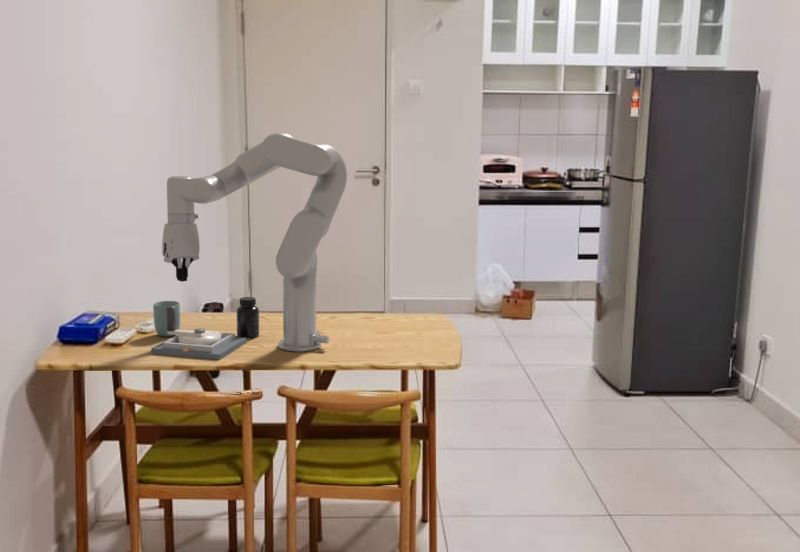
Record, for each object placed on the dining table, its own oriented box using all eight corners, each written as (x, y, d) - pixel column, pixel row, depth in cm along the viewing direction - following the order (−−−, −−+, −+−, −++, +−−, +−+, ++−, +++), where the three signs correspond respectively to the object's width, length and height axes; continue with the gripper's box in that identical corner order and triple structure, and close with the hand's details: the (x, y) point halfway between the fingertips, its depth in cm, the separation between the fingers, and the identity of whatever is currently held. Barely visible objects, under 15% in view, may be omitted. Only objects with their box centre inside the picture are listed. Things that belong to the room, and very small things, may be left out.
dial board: (246, 342, 234) (246, 333, 233) (219, 359, 217) (219, 349, 216) (182, 337, 238) (182, 327, 238) (151, 353, 221) (151, 343, 220)
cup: (184, 332, 244) (183, 301, 242) (175, 339, 236) (173, 307, 234) (160, 331, 245) (159, 300, 243) (150, 337, 237) (148, 305, 235)
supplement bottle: (232, 337, 240) (231, 299, 237) (246, 332, 246) (245, 295, 243) (250, 340, 237) (249, 301, 234) (263, 335, 242) (263, 297, 240)
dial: (228, 338, 232) (227, 305, 230) (209, 349, 220) (208, 315, 218) (178, 334, 235) (176, 302, 233) (157, 345, 224) (155, 311, 222)
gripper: (198, 216, 235) (198, 276, 238) (150, 218, 225) (152, 281, 228) (210, 219, 229) (211, 280, 233) (162, 221, 219) (164, 285, 223)
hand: (182, 280), depth 231 cm, fingers closed
